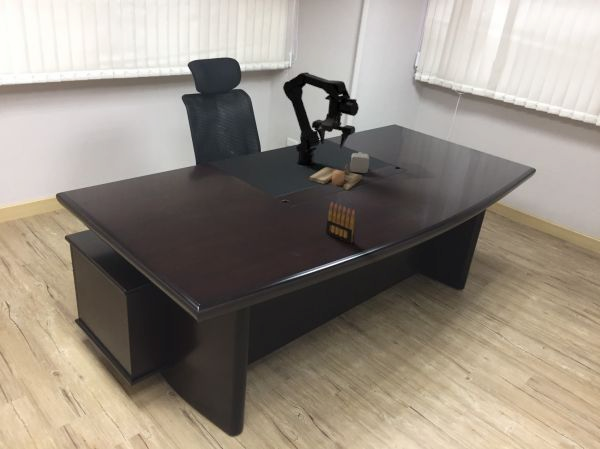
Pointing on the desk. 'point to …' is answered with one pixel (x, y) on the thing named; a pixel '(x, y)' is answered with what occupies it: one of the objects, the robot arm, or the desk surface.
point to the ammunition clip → (341, 223)
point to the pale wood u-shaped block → (327, 175)
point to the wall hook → (359, 162)
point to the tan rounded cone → (338, 177)
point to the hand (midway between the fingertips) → (331, 146)
